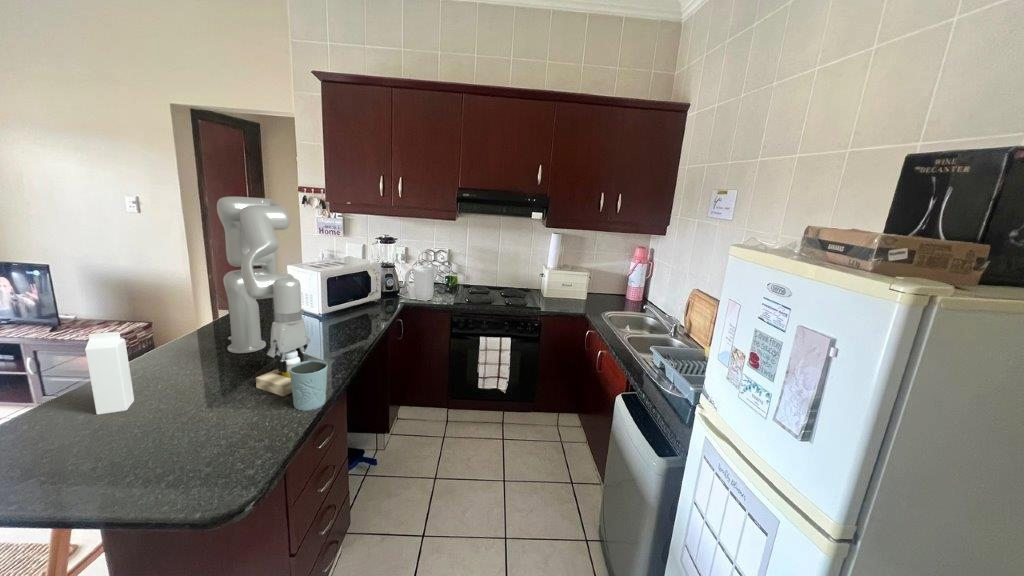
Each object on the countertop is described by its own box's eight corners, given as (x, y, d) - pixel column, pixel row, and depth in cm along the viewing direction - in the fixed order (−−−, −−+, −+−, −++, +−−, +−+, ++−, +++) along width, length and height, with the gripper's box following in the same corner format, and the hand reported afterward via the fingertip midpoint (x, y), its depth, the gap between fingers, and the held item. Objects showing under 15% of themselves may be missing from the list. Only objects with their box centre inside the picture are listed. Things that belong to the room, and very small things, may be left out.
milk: (126, 410, 104) (115, 335, 99) (96, 415, 101) (82, 338, 96) (134, 400, 109) (124, 328, 105) (105, 404, 106) (93, 330, 102)
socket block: (256, 387, 121) (255, 377, 120) (299, 369, 136) (299, 360, 135) (283, 396, 117) (282, 386, 116) (325, 376, 132) (324, 367, 131)
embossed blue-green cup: (290, 414, 108) (288, 376, 106) (291, 398, 117) (289, 362, 114) (329, 408, 113) (328, 371, 110) (328, 392, 122) (327, 358, 119)
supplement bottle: (287, 375, 129) (286, 348, 127) (303, 376, 129) (302, 349, 127) (279, 382, 124) (277, 355, 122) (296, 383, 124) (295, 355, 122)
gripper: (302, 308, 131) (305, 356, 135) (254, 321, 115) (258, 375, 119) (319, 312, 128) (320, 361, 132) (271, 325, 113) (275, 380, 116)
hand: (291, 367), depth 126 cm, fingers open, 5 cm apart
